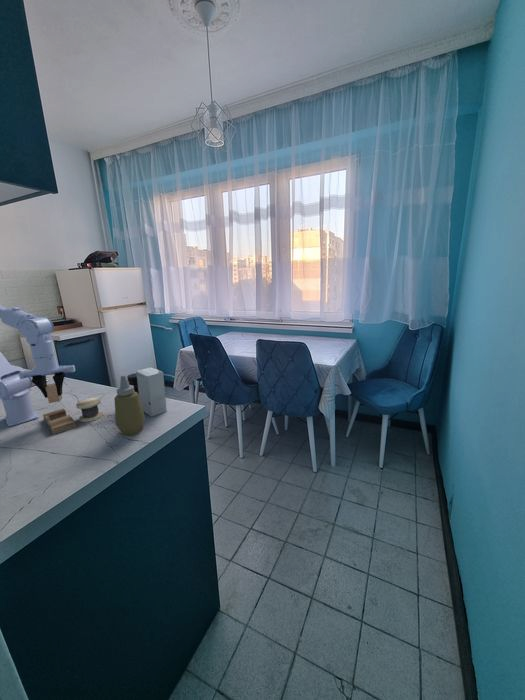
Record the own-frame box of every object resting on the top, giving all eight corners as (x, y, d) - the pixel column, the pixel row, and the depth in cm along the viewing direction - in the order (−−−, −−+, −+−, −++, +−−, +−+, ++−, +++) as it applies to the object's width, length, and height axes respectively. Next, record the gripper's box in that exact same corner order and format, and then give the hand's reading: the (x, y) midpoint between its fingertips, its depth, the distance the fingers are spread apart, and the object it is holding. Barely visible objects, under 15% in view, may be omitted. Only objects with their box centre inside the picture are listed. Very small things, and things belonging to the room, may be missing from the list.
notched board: (44, 419, 98) (42, 414, 97) (64, 413, 102) (63, 408, 101) (53, 434, 88) (52, 428, 88) (76, 426, 92) (74, 421, 92)
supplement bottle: (141, 411, 102) (136, 379, 98) (124, 409, 103) (119, 378, 100) (152, 402, 108) (148, 372, 105) (136, 401, 109) (131, 371, 106)
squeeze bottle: (113, 432, 88) (103, 377, 84) (139, 422, 94) (131, 369, 89) (124, 441, 83) (114, 383, 78) (151, 430, 89) (142, 375, 84)
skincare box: (140, 410, 102) (134, 370, 98) (156, 404, 106) (150, 366, 103) (152, 417, 97) (146, 375, 93) (168, 410, 101) (163, 370, 97)
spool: (76, 417, 99) (73, 402, 97) (99, 410, 103) (96, 396, 102) (83, 424, 94) (79, 408, 92) (106, 416, 99) (103, 401, 97)
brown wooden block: (49, 403, 94) (45, 387, 92) (51, 399, 96) (47, 384, 95) (59, 401, 95) (56, 385, 93) (62, 398, 97) (58, 382, 96)
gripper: (73, 349, 97) (81, 387, 101) (21, 355, 92) (31, 395, 96) (68, 355, 91) (77, 395, 94) (11, 361, 86) (23, 403, 89)
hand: (53, 395), depth 94 cm, fingers closed on brown wooden block, 3 cm apart
